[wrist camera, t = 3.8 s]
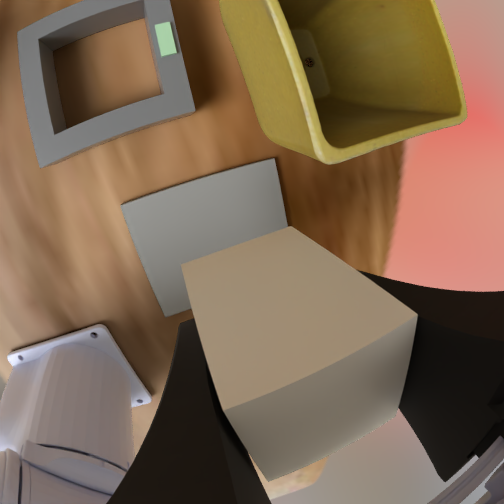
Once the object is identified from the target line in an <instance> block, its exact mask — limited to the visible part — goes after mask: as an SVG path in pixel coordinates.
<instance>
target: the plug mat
mask: <svg viewBox="0 0 504 504" xmlns="http://www.w3.org/2000/svg"><path fill="white" fill-rule="evenodd" d="M120 206H121V209H122V212H123V215H124V218H125V221H126V223H127V226H128V229H129V232H130V234H131V237H132V240H133V242H134V245H135V247H136V250H137V253H138V255H139V258H140V260H141V263H142V265H143V268H144V270H145V272H146V275H147V277H148V279H149V282H150V284H151V286H152V289H153V291H154V293H155V296H156V298H157V300H158V302H159V305H160V307H161V309H162V311H163V313H164V315H165V317H168V316H171V315H174V314H177V313H180V312H183V311H186V310H189V309H192V307H191V304H190V300H189V296H188V292H187V288H186V284H185V280H184V276H183V272H182V268H181V264H184V263H187V262H190V261H192V260H195V259H198V258H201V257H204V256H207V255H209V254H212V253H215V252H218V251H221V250H224V249H226V248H229V247H232V246H235V245H238V244H241V243H244V242H246V241H249V240H252V239H255V238H258V237H261V236H264V235H267V234H269V233H272V232H275V231H278V230H281V229H284V228H287V227H288V225H287V219H286V214H285V209H284V203H283V198H282V193H281V188H280V183H279V178H278V173H277V168H276V163H275V158H270V159H266V160H262V161H258V162H254V163H250V164H246V165H243V166H239V167H235V168H232V169H228V170H225V171H221V172H218V173H214V174H211V175H207V176H204V177H201V178H197V179H194V180H191V181H188V182H185V183H181V184H178V185H175V186H172V187H169V188H166V189H163V190H160V191H157V192H154V193H151V194H148V195H146V196H143V197H140V198H137V199H134V200H132V201H129V202H126V203H123V204H121V205H120Z"/></svg>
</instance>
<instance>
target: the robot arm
mask: <svg viewBox="0 0 504 504" xmlns="http://www.w3.org/2000/svg"><path fill="white" fill-rule="evenodd" d="M357 271H358V272H360V273H361V274H363V275H364V276H365V277H367V278H368V279H370V280H371V281H373V282H374V283H375V284H377V285H378V286H380V287H381V288H382V289H384V290H385V291H387V292H388V293H389V294H391V295H392V296H393V297H395V298H396V299H398V300H399V301H400V302H402V303H403V304H404V305H406V306H407V307H409V308H410V309H411V310H413V311H414V312H415V313H417V314H418V317H417V323H416V330H415V336H414V341H413V347H412V352H411V357H410V362H409V366H408V371H407V375H406V379H405V384H404V388H403V392H402V395H401V399H400V403H399V406H398V408H399V409H400V411H401V412H402V414H403V415H404V416H405V418H406V420H407V421H408V423H409V424H410V426H411V427H412V429H413V430H414V432H415V434H416V435H417V437H418V438H419V440H420V442H421V443H422V445H423V446H424V448H425V450H426V452H427V454H428V456H429V458H430V460H431V462H432V463H433V465H434V467H435V469H436V471H437V473H438V475H439V476H440V477H441V479H442V480H443V481H444V482H446V481H448V480H449V479H450V478H451V477H452V476H453V475H454V474H456V473H457V472H458V471H459V470H460V469H461V468H462V467H463V466H464V465H465V464H466V463H467V462H468V461H470V459H472V458H473V457H474V456H475V455H477V456H478V458H479V459H478V460H477V461H476V462H475V463H474V464H473V465H472V466H471V467H470V468H469V469H468V470H467V471H466V472H465V473H464V474H463V475H461V476H460V477H459V478H458V479H457V480H456V481H455V482H453V483H452V484H451V485H450V486H449V487H448V488H446V489H445V490H444V491H443V492H442V493H440V494H439V495H438V496H437V497H436V498H435V499H433V500H432V501H430V502H429V503H428V504H459V503H461V502H462V501H463V500H464V499H465V498H466V497H467V496H468V495H469V494H470V493H471V492H472V491H473V490H475V489H476V487H478V486H479V485H480V484H481V483H482V481H483V480H484V479H485V478H486V477H487V476H488V475H489V474H490V473H491V472H492V471H493V470H494V469H495V468H496V466H498V464H499V463H500V462H501V461H502V460H503V458H504V291H498V292H471V291H454V290H445V289H438V288H430V287H424V286H419V285H414V284H409V283H405V282H400V281H396V280H392V279H388V278H384V277H381V276H377V275H373V274H370V273H366V272H362V271H359V270H357ZM92 332H95V333H97V334H98V335H93V334H92ZM20 355H21V356H22V357H21V356H20ZM7 358H8V360H9V362H10V363H11V365H12V366H13V369H12V371H11V374H10V376H9V379H8V382H7V384H6V387H5V390H4V392H3V395H2V398H1V401H0V504H271V502H270V500H269V498H268V496H267V494H266V491H265V489H264V487H263V485H262V483H261V481H260V479H259V477H258V474H257V472H256V470H255V468H254V466H253V463H252V461H251V459H250V456H249V454H248V451H247V449H246V448H245V446H244V445H243V443H242V441H241V440H240V438H239V437H238V435H237V433H236V432H235V430H234V428H233V427H232V425H231V423H230V422H229V420H228V418H227V417H226V415H225V413H224V412H223V409H222V406H221V403H220V400H219V397H218V394H217V391H216V388H215V385H214V382H213V379H212V376H211V373H210V370H209V366H208V363H207V360H206V357H205V353H204V350H203V346H202V343H201V340H200V336H199V333H198V329H197V326H196V322H195V318H194V319H191V320H188V321H185V322H183V323H180V325H179V328H178V335H177V341H176V346H175V350H174V355H173V359H172V363H171V367H170V371H169V375H168V378H167V382H166V385H165V388H164V391H163V394H162V398H161V401H160V403H159V406H158V409H157V411H156V414H155V417H154V419H153V421H152V424H151V426H150V429H149V431H148V433H147V435H146V437H145V439H144V441H143V443H142V445H141V448H140V450H139V452H138V453H137V455H136V457H135V454H134V442H133V427H132V407H135V406H139V405H143V404H147V403H150V402H151V401H152V397H151V395H150V393H149V392H148V390H147V389H146V388H145V386H144V385H143V383H142V382H141V380H140V379H139V378H138V376H137V375H136V373H135V372H134V370H133V369H132V367H131V366H130V364H129V363H128V361H127V360H126V358H125V356H124V355H123V353H122V352H121V350H120V349H119V347H118V345H117V344H116V342H115V340H114V339H113V337H112V335H111V334H110V332H109V330H108V329H107V327H106V326H104V325H102V324H97V325H94V326H91V327H88V328H85V329H82V330H79V331H76V332H73V333H70V334H67V335H64V336H61V337H57V338H54V339H51V340H48V341H45V342H42V343H39V344H35V345H32V346H29V347H26V348H23V349H19V350H16V351H13V352H10V353H9V354H8V357H7ZM138 399H141V400H138ZM485 488H486V489H487V490H488V491H487V492H486V494H484V495H483V496H482V497H481V498H480V499H479V500H478V501H477V502H476V503H475V504H504V463H503V464H502V465H501V466H500V467H499V468H498V469H497V470H496V471H495V472H494V474H493V475H492V476H491V477H490V479H489V480H488V481H487V483H486V484H485Z"/></svg>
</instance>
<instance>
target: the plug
mask: <svg viewBox="0 0 504 504" xmlns="http://www.w3.org/2000/svg"><path fill="white" fill-rule="evenodd" d="M181 268H182V272H183V276H184V280H185V284H186V288H187V292H188V296H189V300H190V304H191V307H192V311H193V315H194V318H195V322H196V326H197V329H198V333H199V336H200V340H201V343H202V346H203V350H204V353H205V357H206V360H207V363H208V366H209V370H210V373H211V376H212V379H213V382H214V385H215V388H216V391H217V394H218V397H219V400H220V403H221V406H222V409H223V412H224V413H225V415H226V417H227V418H228V420H229V422H230V423H231V425H232V427H233V428H234V430H235V432H236V433H237V435H238V437H239V438H240V440H241V441H242V443H243V445H244V446H245V448H246V449H247V451H248V452H249V454H250V455H251V457H252V459H253V460H254V462H255V463H256V465H257V466H258V468H259V469H260V471H261V472H262V473H263V475H264V476H265V478H266V479H267V481H268V482H269V481H272V480H274V479H277V478H279V477H282V476H284V475H287V474H289V473H292V472H294V471H296V470H299V469H301V468H303V467H306V466H308V465H310V464H312V463H314V462H316V461H319V460H321V459H323V458H325V457H327V456H329V455H331V454H333V453H335V452H337V451H338V450H340V449H342V448H344V447H346V446H348V445H350V444H351V443H353V442H355V441H356V440H358V439H360V438H362V437H364V436H365V435H367V434H369V433H370V432H372V431H374V430H375V429H377V428H378V427H380V426H381V425H383V424H385V423H386V422H388V421H389V420H391V419H392V418H394V417H395V416H396V413H397V410H398V406H399V403H400V399H401V395H402V392H403V388H404V384H405V379H406V375H407V371H408V366H409V362H410V357H411V352H412V347H413V341H414V336H415V330H416V323H417V317H418V314H417V313H415V312H414V311H413V310H411V309H410V308H409V307H407V306H406V305H404V304H403V303H402V302H400V301H399V300H398V299H396V298H395V297H393V296H392V295H391V294H389V293H388V292H387V291H385V290H384V289H382V288H381V287H380V286H378V285H377V284H375V283H374V282H373V281H371V280H370V279H368V278H367V277H365V276H364V275H363V274H361V273H360V272H358V271H357V270H355V269H354V268H353V267H351V266H350V265H348V264H347V263H345V262H344V261H342V260H341V259H340V258H338V257H337V256H335V255H334V254H332V253H331V252H329V251H328V250H326V249H325V248H323V247H322V246H320V245H319V244H317V243H316V242H314V241H313V240H311V239H310V238H308V237H307V236H305V235H304V234H302V233H301V232H299V231H298V230H296V229H295V228H293V227H292V226H290V227H287V228H284V229H281V230H278V231H275V232H272V233H269V234H267V235H264V236H261V237H258V238H255V239H252V240H249V241H246V242H244V243H241V244H238V245H235V246H232V247H229V248H226V249H224V250H221V251H218V252H215V253H212V254H209V255H207V256H204V257H201V258H198V259H195V260H192V261H190V262H187V263H184V264H181Z"/></svg>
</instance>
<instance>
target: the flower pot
mask: <svg viewBox="0 0 504 504" xmlns="http://www.w3.org/2000/svg"><path fill="white" fill-rule="evenodd" d="M219 6H220V12H221V17H222V20H223V24H224V26H225V29H226V31H227V34H228V36H229V39H230V41H231V44H232V46H233V49H234V52H235V54H236V57H237V60H238V62H239V65H240V68H241V71H242V73H243V76H244V79H245V82H246V85H247V88H248V91H249V93H250V96H251V99H252V102H253V106H254V109H255V112H256V115H257V119H258V121H259V124H260V126H261V128H262V130H263V132H264V134H265V135H266V136H267V137H268V138H269V139H270V140H271V141H273V142H274V143H276V144H278V145H280V146H283V147H285V148H288V149H291V150H293V151H296V152H299V153H301V154H304V155H306V156H309V157H311V158H314V159H316V160H318V161H320V162H322V163H325V164H328V165H330V164H337V163H340V162H343V161H346V160H349V159H352V158H355V157H358V156H360V155H363V154H366V153H369V152H371V151H374V150H377V149H379V148H381V147H385V146H388V145H391V144H394V143H397V142H400V141H403V140H406V139H409V138H412V137H415V136H419V135H422V134H425V133H428V132H432V131H435V130H439V129H443V128H447V127H451V126H455V125H458V124H461V123H462V122H463V121H465V119H466V118H467V108H466V101H465V96H464V91H463V87H462V83H461V79H460V75H459V71H458V68H457V64H456V60H455V57H454V54H453V51H452V48H451V45H450V42H449V39H448V36H447V33H446V30H445V27H444V24H443V22H442V19H441V16H440V13H439V11H438V8H437V5H436V3H435V0H219ZM306 59H310V60H311V61H312V62H313V65H312V66H311V67H309V66H307V65H306V63H305V60H306Z"/></svg>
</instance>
